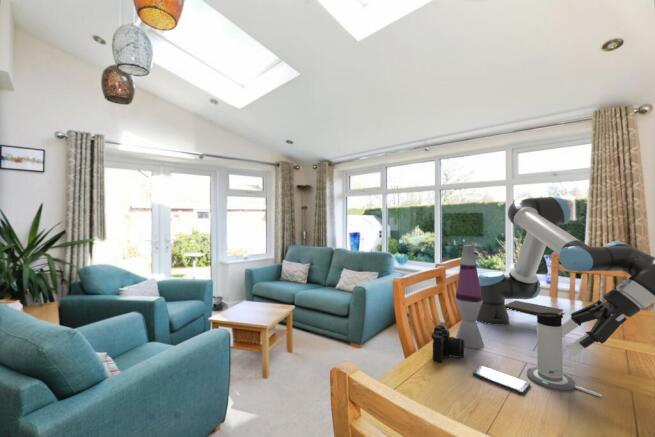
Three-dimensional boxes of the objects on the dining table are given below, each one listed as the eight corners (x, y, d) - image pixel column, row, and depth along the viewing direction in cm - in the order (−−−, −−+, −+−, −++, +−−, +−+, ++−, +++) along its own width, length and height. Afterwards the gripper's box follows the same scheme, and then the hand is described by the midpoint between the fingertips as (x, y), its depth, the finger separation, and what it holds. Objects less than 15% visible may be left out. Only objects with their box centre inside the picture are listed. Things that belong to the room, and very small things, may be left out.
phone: (472, 375, 95) (472, 372, 95) (481, 368, 99) (481, 365, 99) (522, 395, 84) (522, 391, 84) (530, 386, 89) (530, 382, 89)
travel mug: (557, 384, 87) (556, 317, 87) (533, 374, 93) (532, 311, 93) (568, 379, 90) (567, 314, 90) (544, 369, 96) (543, 308, 96)
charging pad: (521, 379, 93) (521, 375, 93) (533, 366, 100) (533, 363, 100) (598, 406, 79) (598, 402, 79) (605, 389, 87) (604, 385, 87)
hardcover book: (515, 304, 175) (515, 300, 175) (563, 313, 157) (563, 309, 157) (503, 309, 165) (503, 305, 165) (553, 320, 147) (553, 315, 147)
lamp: (457, 335, 127) (456, 243, 128) (485, 341, 121) (484, 244, 121) (452, 344, 119) (451, 245, 119) (482, 351, 112) (480, 246, 113)
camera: (462, 368, 100) (461, 339, 100) (429, 361, 105) (429, 333, 105) (465, 352, 112) (465, 325, 112) (436, 346, 117) (435, 321, 117)
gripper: (598, 280, 97) (543, 319, 103) (637, 298, 74) (564, 347, 80) (619, 298, 94) (562, 337, 101) (667, 322, 72) (589, 371, 78)
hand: (563, 342), depth 91 cm, fingers open, 13 cm apart
